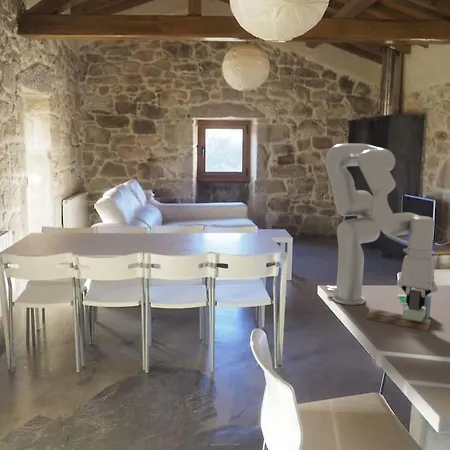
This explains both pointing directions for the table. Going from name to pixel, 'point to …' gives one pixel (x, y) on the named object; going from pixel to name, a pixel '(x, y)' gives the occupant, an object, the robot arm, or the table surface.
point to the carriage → (414, 307)
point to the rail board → (397, 319)
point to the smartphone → (402, 299)
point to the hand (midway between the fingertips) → (415, 306)
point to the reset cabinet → (427, 305)
